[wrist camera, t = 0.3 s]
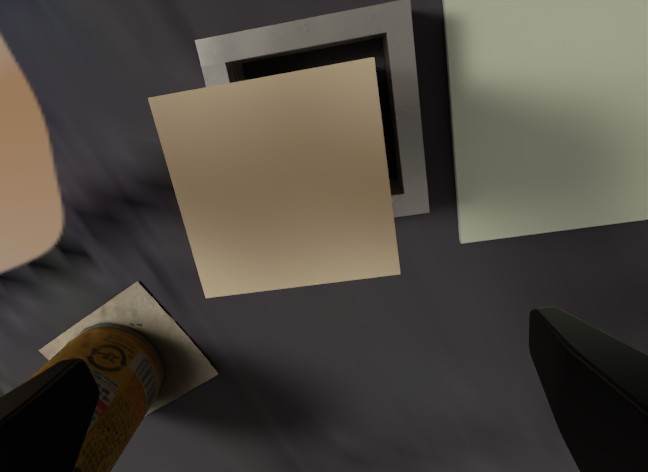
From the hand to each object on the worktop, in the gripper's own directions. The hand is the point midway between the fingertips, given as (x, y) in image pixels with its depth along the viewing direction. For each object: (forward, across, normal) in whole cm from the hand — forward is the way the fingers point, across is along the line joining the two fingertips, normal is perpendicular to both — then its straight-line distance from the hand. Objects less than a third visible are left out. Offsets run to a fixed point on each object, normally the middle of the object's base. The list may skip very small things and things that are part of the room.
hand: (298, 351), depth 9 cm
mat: (+15, -12, -1) cm, 19 cm away
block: (+15, 0, -2) cm, 15 cm away
